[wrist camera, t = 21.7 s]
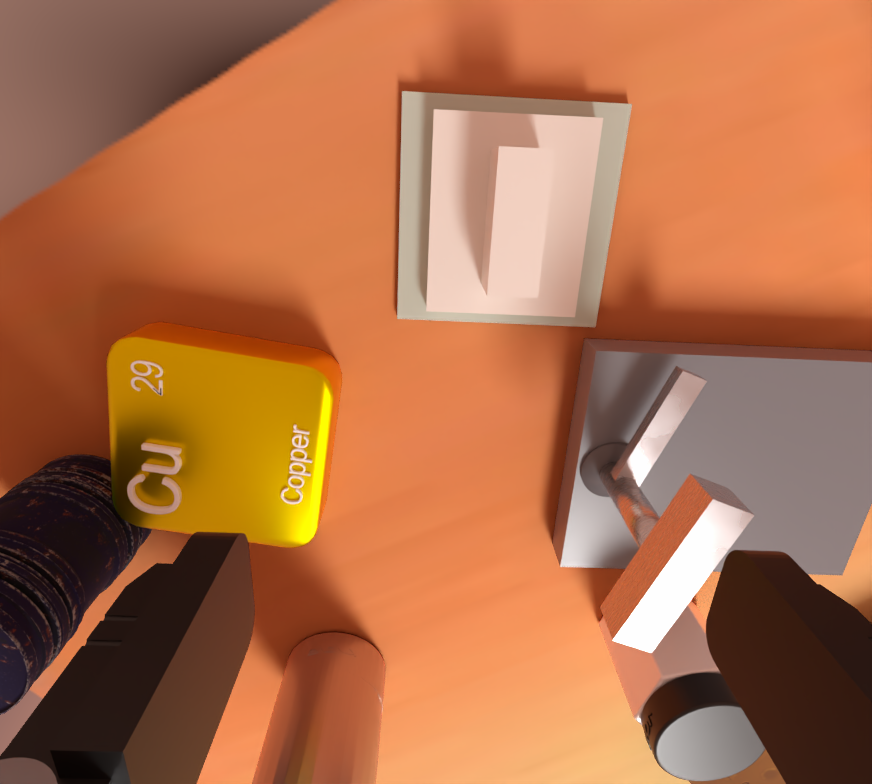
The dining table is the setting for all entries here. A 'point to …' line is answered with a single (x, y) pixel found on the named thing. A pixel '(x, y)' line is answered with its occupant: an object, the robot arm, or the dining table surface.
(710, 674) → the jar
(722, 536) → the t key
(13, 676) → the storage jar
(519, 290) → the cover
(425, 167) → the mat
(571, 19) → the dining table surface
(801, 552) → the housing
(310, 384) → the element tile
